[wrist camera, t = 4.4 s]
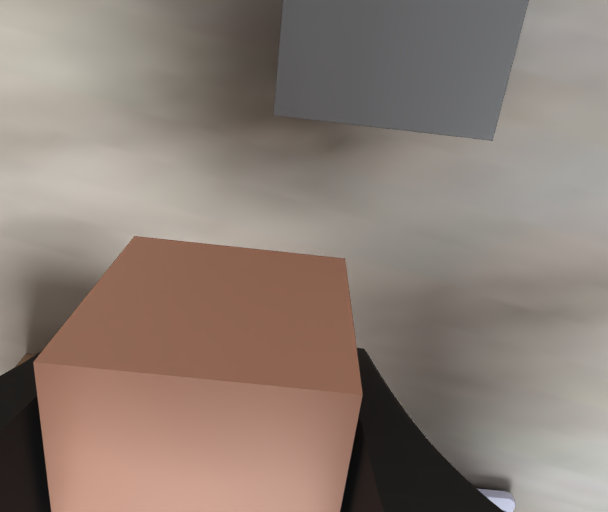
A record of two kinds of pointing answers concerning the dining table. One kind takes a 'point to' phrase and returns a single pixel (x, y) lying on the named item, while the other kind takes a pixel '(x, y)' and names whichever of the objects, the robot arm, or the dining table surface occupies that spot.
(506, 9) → the gray block
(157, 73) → the dining table surface
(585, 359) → the dining table surface
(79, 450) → the terracotta block
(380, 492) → the robot arm
